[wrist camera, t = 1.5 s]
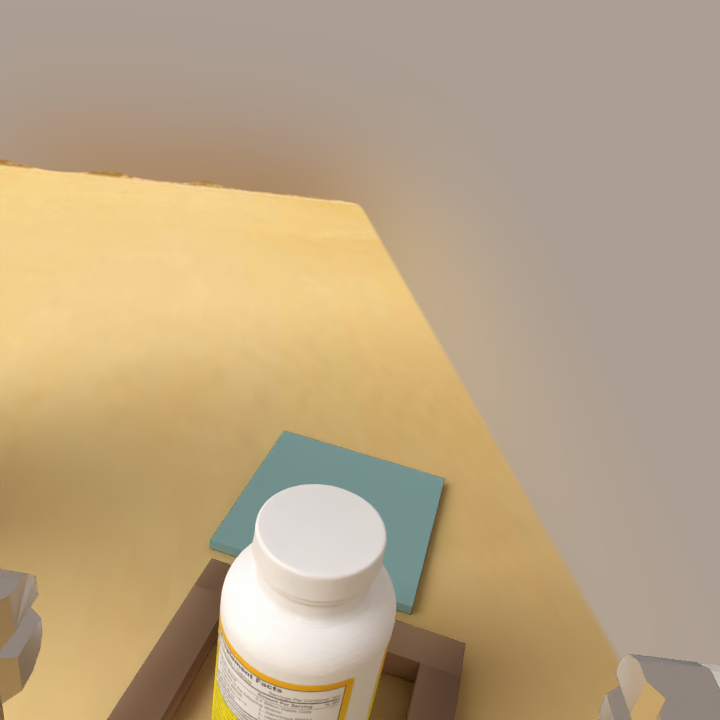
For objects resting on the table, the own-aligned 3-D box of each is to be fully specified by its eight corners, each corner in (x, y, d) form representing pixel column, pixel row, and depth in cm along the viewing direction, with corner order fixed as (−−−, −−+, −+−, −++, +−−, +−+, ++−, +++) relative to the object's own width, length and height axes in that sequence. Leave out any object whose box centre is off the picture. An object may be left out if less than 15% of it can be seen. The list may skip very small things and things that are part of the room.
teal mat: (209, 548, 39) (210, 540, 39) (283, 437, 49) (284, 430, 49) (410, 614, 37) (412, 607, 37) (442, 485, 47) (444, 478, 47)
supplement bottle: (296, 649, 34) (332, 445, 28) (388, 752, 30) (454, 543, 24) (177, 727, 30) (190, 506, 23) (268, 860, 26) (311, 638, 20)
